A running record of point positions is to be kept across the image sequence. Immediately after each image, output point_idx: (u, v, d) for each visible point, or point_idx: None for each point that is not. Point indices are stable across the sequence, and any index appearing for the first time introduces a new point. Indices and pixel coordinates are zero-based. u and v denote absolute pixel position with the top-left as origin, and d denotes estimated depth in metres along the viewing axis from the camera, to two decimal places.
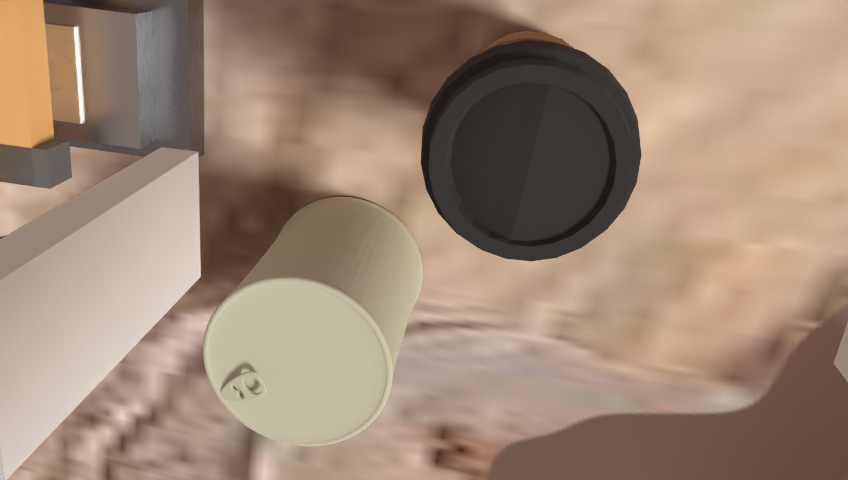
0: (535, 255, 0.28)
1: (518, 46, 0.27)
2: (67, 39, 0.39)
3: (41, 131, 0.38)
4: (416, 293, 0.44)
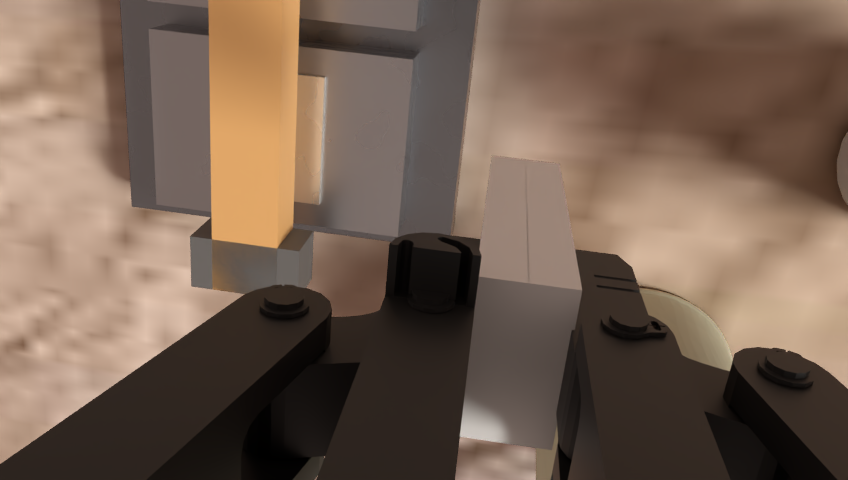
0: None
1: None
2: (313, 94, 0.28)
3: (285, 222, 0.28)
4: None
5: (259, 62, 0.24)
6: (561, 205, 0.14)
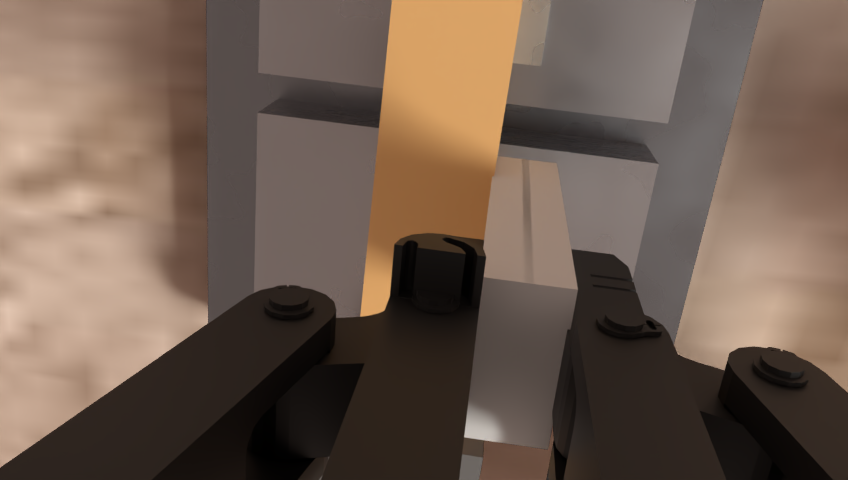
0: None
1: None
2: None
3: None
4: None
5: (456, 186, 0.15)
6: (558, 205, 0.14)
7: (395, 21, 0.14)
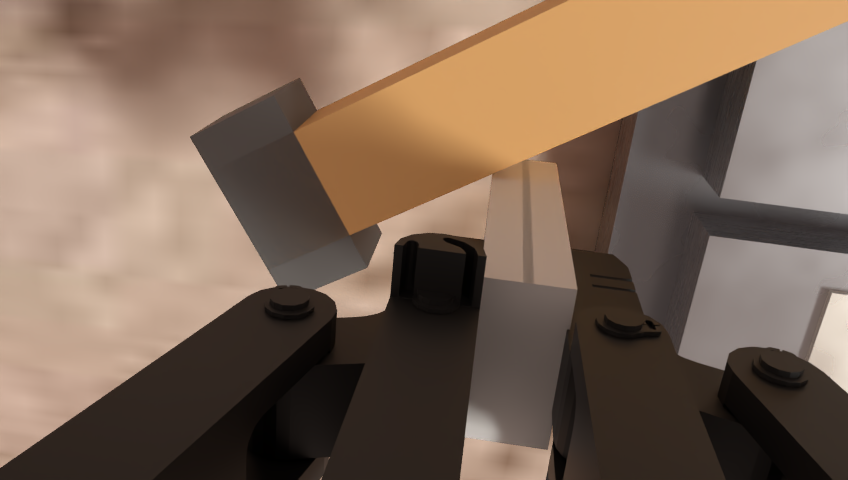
0: None
1: None
2: None
3: None
4: None
5: (637, 70, 0.14)
6: (557, 205, 0.14)
7: None
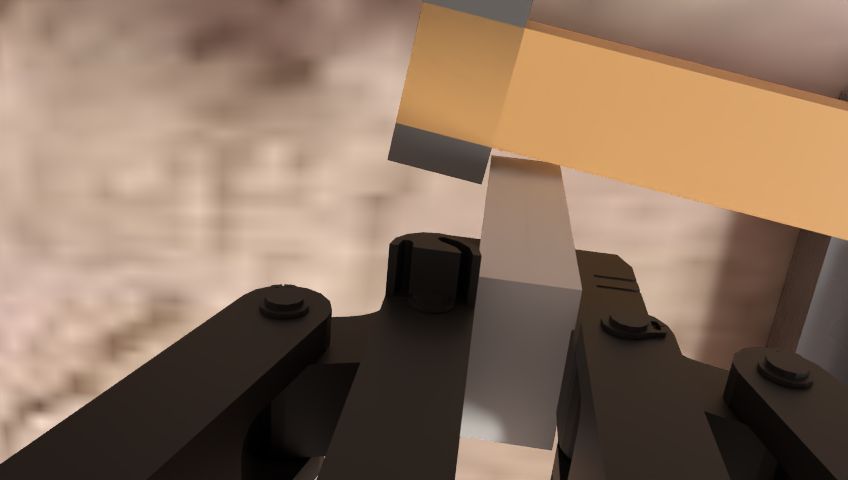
0: None
1: None
2: None
3: None
4: None
5: (819, 196, 0.15)
6: (561, 205, 0.14)
7: None
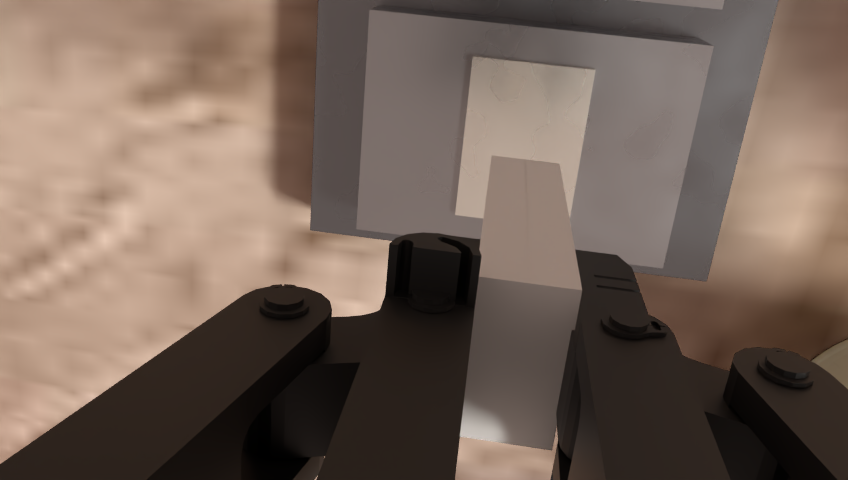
0: None
1: None
2: (578, 90, 0.22)
3: None
4: None
5: None
6: (561, 205, 0.14)
7: None
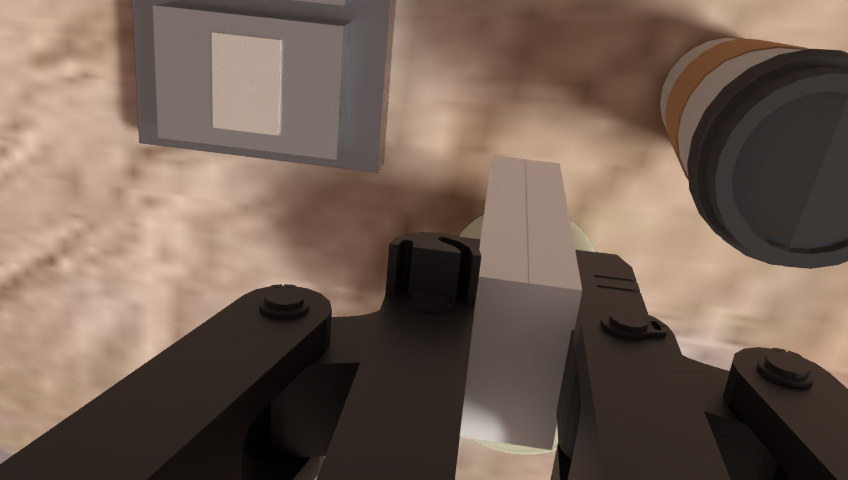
0: (815, 262, 0.28)
1: (805, 55, 0.27)
2: (272, 52, 0.39)
3: None
4: None
5: None
6: (561, 205, 0.14)
7: None
